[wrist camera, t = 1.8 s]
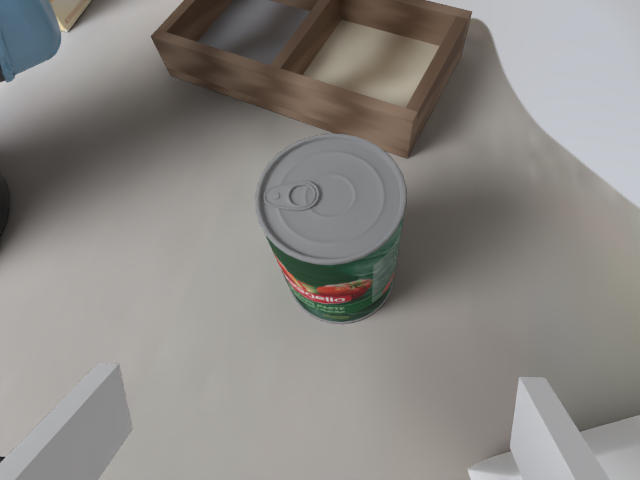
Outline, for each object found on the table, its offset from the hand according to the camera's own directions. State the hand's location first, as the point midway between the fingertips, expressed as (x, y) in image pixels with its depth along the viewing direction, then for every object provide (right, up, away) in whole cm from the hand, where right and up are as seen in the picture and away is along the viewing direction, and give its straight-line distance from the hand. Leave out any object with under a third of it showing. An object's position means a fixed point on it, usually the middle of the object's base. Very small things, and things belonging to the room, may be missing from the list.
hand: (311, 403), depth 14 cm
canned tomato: (+2, +3, +18) cm, 18 cm away
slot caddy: (-1, +22, +28) cm, 35 cm away
